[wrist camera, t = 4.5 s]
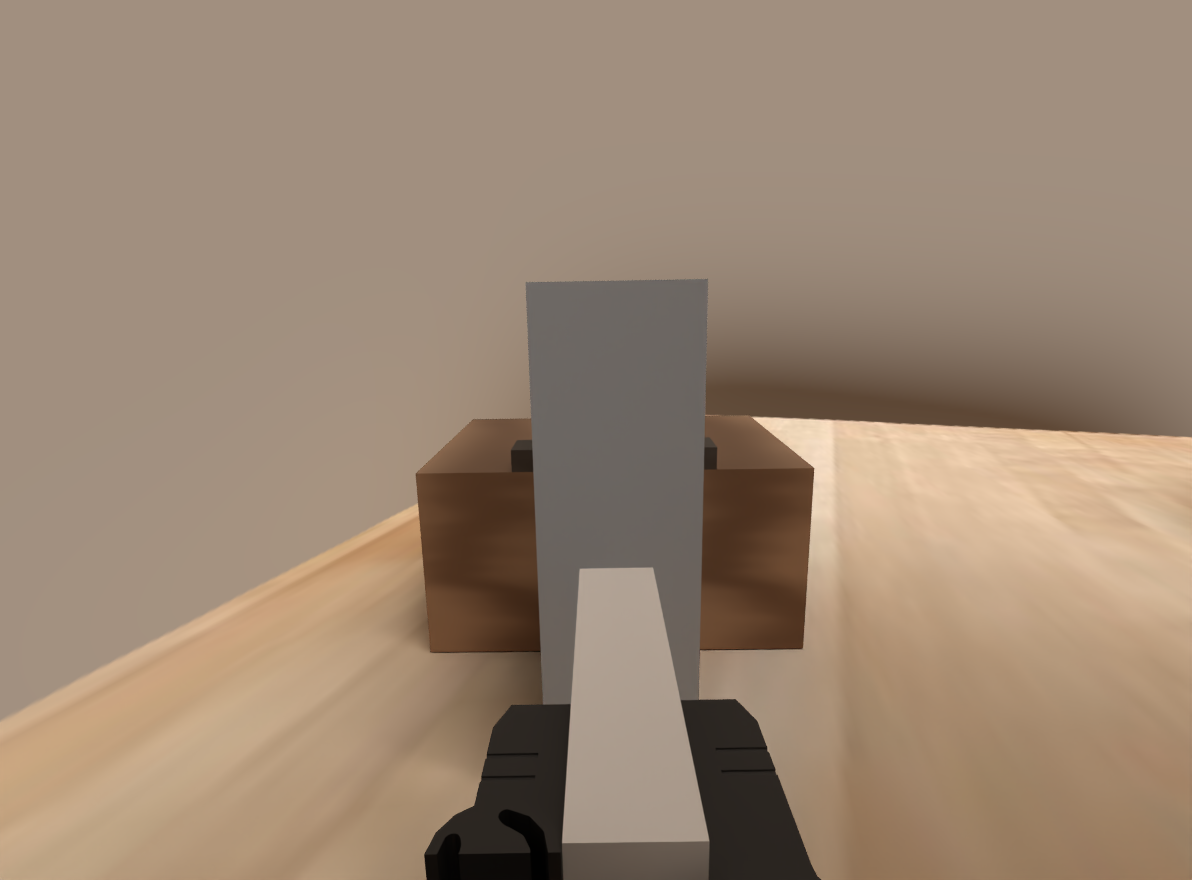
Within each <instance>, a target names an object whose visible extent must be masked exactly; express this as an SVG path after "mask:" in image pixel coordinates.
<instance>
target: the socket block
mask: <svg viewBox="0 0 1192 880" xmlns="http://www.w3.org/2000/svg"><path fill="white" fill-rule="evenodd" d="M813 479H814V468H813V467H812V466H811V465H810V464H808V463H807V462H806V461H805V460H803V459H802V458H801V457H800V456H799V455H797V454H796V453H795V452H794V451H792V450H791V449H790V448H789V447H787V446H786V445H785V444H784V443H782V442H781V441H780V440H779V439H777V438H776V437H775V436H774V435H773V434H771V433H770V432H769V431H768V430H766V429H765V428H764V427H763V426H761V425H760V424H759V423H758V422H756V421H755V420H754V419H753V418H751V417H750V416H749V415H746V416H745V415H744V416H705V437H704V482H703V527H702V571H701V616H700V649H784V648H803V638H804V622H805V606H806V590H807V574H808V558H809V543H810V527H811V511H812V495H813ZM416 483H417V495H418V507H419V519H420V531H421V542H422V554H423V566H424V578H425V590H426V602H427V613H428V625H429V637H430V649H431V652H470V651H541V644H540V620H539V595H538V571H537V546H536V522H535V497H534V473H533V448H532V424H531V419H473V420H472V421H471V422H470V423H469V424H468V425H467V426H466V427H465V428H464V429H462V430H461V431H460V432H459V433H458V434H457V435H456V436H455V437H454V438H453V439H452V440H451V441H450V442H449V443H448V444H447V445H445V447H443V448H442V449H441V450H440V451H439V452H438V453H437V454H436V455H435V456H434V457H433V458H432V459H431V460H430V461H428V462H427V463H426V465H424V466H423V467H422V468H421V469H420V470H419V471H418V472H417V473H416Z"/></svg>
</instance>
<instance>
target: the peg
mask: <svg viewBox="0 0 1192 880" xmlns="http://www.w3.org/2000/svg"><path fill="white" fill-rule="evenodd" d="M707 296H708V279H692V280H691V279H689V280H634V281H633V280H632V281H580V282H579V281H578V282H577V281H575V282H526V301H527V324H528V325H527V326H528V348H529V349H528V350H529V375H530V399H531V424H532V448H533V473H534V497H535V522H536V546H537V571H538V595H539V620H540V644H541V669H542V693H543V705H546V704H571V696H572V680H573V665H574V649H575V634H576V618H577V603H578V587H579V572H580V569H590V568H651V567H653V570H654V574H655V579H656V584H657V589H658V594H659V599H660V604H661V608H662V613H663V618H664V623H665V628H666V633H667V637H668V642H669V647H670V652H671V657H672V662H673V667H674V671H675V676H676V681H677V686H678V691H679V696H680V700H699V661H700V616H701V571H702V527H703V482H704V437H705V392H706V390H705V389H706V347H707V346H706V345H707V343H706V342H707V302H708V300H707V299H708V297H707Z"/></svg>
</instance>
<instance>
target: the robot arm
mask: <svg viewBox="0 0 1192 880" xmlns="http://www.w3.org/2000/svg"><path fill="white" fill-rule="evenodd" d="M424 857H425V867H426V877H427V880H821V879H820V878H819V877H818V876H817V875H816V873H815V871H814V869H813V867H812V865H811V863H810V860H809V857H808V855H807V852H806V849H805V847H804V844H803V841H802V839H801V836H800V834H799V831H798V828H797V826H796V823H795V820H794V818H793V815H792V812H791V810H790V807H789V804H788V802H787V799H786V796H785V794H784V791H783V788H782V786H781V783H780V780H779V778H778V775H776V772H775V767H774V765H773V762H772V759H771V757H770V754H769V752H767V746H766V743H765V741H764V738H763V735H762V733H761V730H760V727H759V725H758V722H757V720H756V719H755V718H754V717H753V716H752V715H751V714H750V713H749V712H748V711H747V710H746V709H745V708H744V707H743V706H742V705H741V704H740V703H739V702H738V701H737V700H736V699H723V700H680V696H679V691H678V686H677V681H676V676H675V671H674V667H673V662H672V657H671V652H670V647H669V642H668V637H667V633H666V628H665V623H664V618H663V613H662V608H661V604H660V599H659V594H658V589H657V584H656V579H655V574H654V570H653V567H651V568H590V569H580V572H579V587H578V603H577V618H576V634H575V649H574V665H573V680H572V696H571V704H546V705H511V706H510V708H509V709H508V710H507V711H506V713H505V714H504V715H503V716H502V717H501V719H500V720H499V721H498V722H497V723H496V725H495V726H494V727H493V730H492V734H491V739H490V743H489V747H488V751H487V759H485V763H484V768H483V772H482V776H481V782H480V784H479V788H478V792H477V797H476V801H475V805H474V806H473V807H471V808H469V809H466V810H464V811H462V812H460V813H458V814H456V815H454V816H453V817H452V818H451V819H450V820H449V821H448V822H447V823H446V824H445V825H444V826H443V827H441V828H440V829H439V830H438V831H437V832H436V833H435V835H434V837H433V839H432V841H431V843H430V845H429V847H428V849H427V850H426V852H425V854H424Z"/></svg>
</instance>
